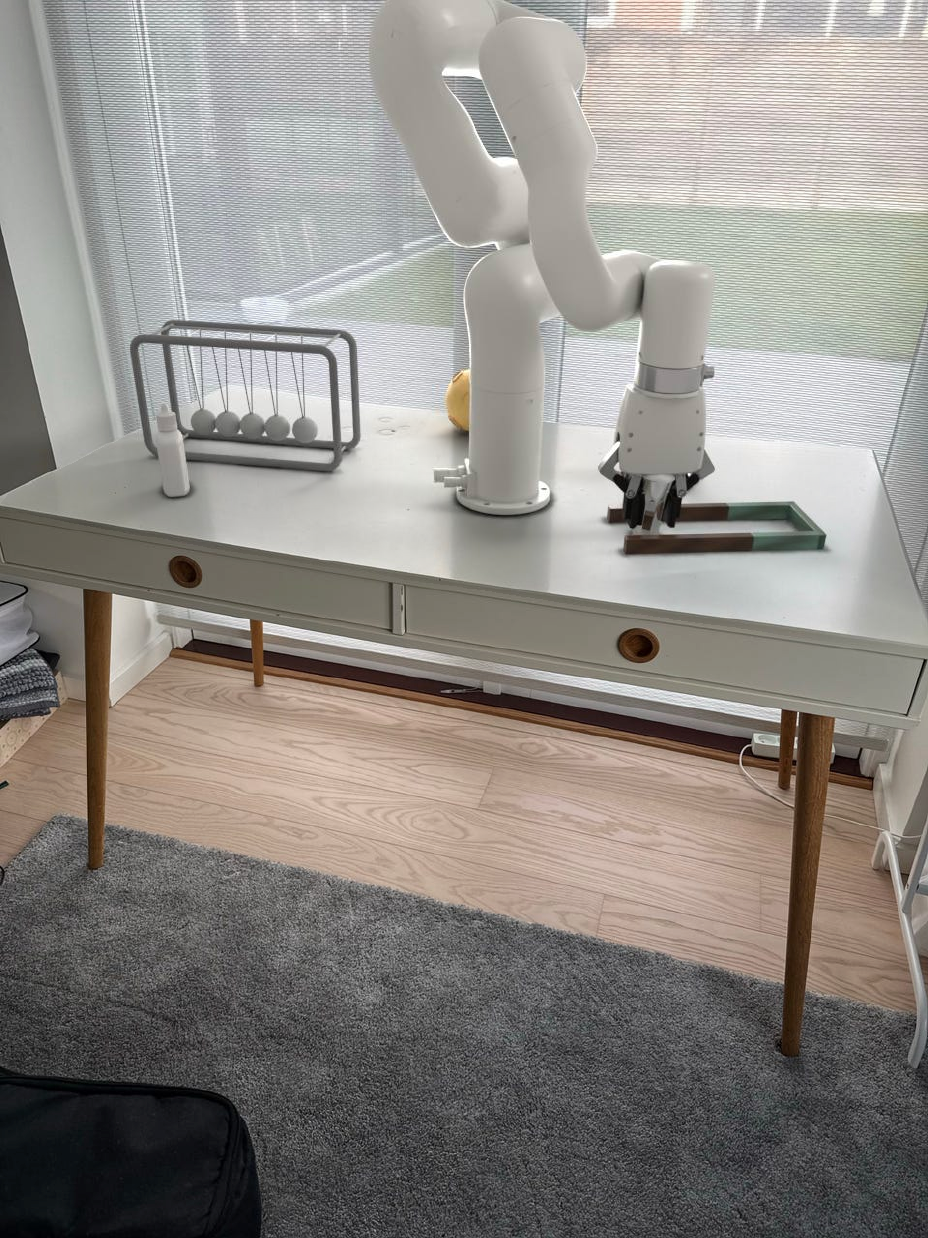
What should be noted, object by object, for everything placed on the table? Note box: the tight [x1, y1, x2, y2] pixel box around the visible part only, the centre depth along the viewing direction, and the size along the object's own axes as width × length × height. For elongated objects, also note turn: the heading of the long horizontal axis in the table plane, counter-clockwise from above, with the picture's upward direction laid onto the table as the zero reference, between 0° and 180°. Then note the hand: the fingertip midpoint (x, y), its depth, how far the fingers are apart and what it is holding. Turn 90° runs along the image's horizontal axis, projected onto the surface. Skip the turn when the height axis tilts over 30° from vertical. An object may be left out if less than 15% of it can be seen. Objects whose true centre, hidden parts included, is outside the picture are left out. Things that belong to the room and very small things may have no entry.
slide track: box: [606, 500, 827, 555], centre depth 118 cm, size 24×10×2 cm, turn 95°
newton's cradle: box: [129, 319, 362, 472], centre depth 137 cm, size 30×10×18 cm, turn 79°
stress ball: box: [445, 368, 470, 432], centre depth 150 cm, size 10×10×10 cm
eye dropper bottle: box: [155, 402, 191, 498], centre depth 126 cm, size 4×6×12 cm
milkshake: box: [630, 474, 675, 535], centre depth 116 cm, size 4×5×10 cm
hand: (649, 522), depth 117 cm, fingers closed on milkshake, 4 cm apart
